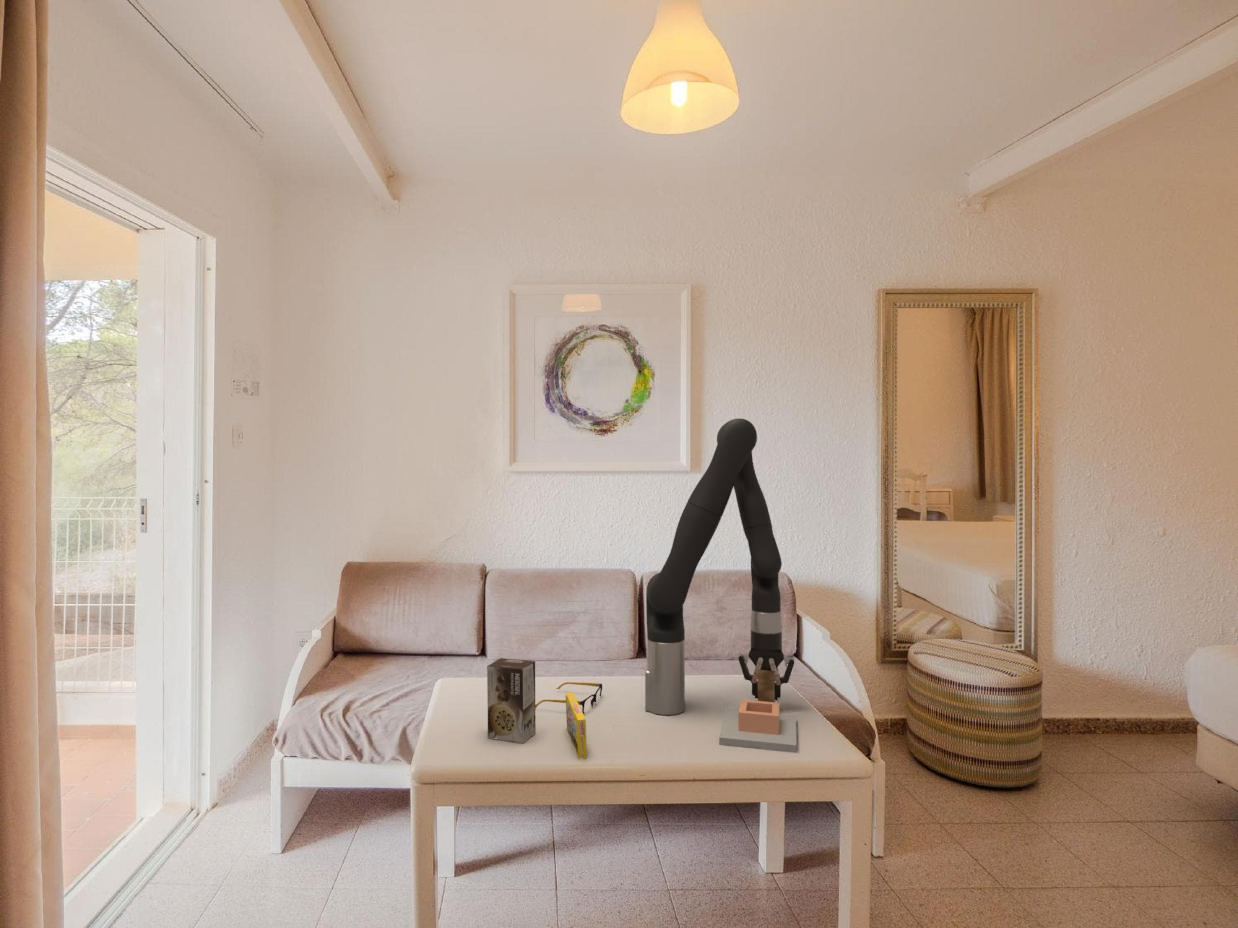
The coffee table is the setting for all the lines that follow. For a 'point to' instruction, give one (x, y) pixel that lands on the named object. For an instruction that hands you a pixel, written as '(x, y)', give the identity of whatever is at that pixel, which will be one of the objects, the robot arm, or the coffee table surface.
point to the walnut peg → (766, 685)
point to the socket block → (759, 727)
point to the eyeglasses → (578, 701)
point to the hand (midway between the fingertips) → (766, 697)
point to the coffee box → (511, 699)
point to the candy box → (576, 725)
